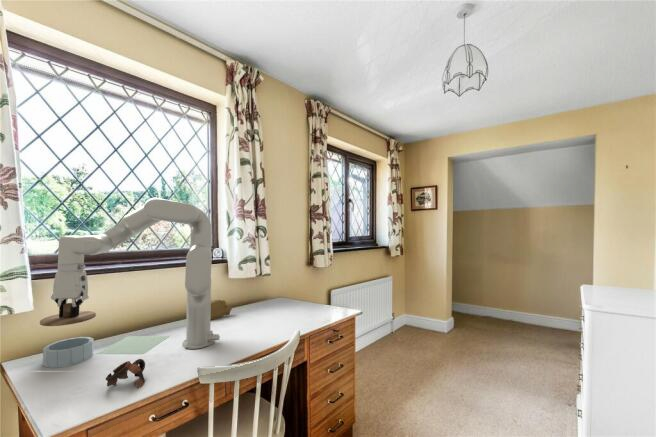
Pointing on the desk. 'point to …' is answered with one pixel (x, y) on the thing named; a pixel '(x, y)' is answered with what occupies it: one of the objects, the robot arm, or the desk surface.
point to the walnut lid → (67, 317)
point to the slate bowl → (68, 352)
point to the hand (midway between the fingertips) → (69, 316)
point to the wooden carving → (219, 309)
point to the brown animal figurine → (123, 369)
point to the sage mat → (134, 345)
